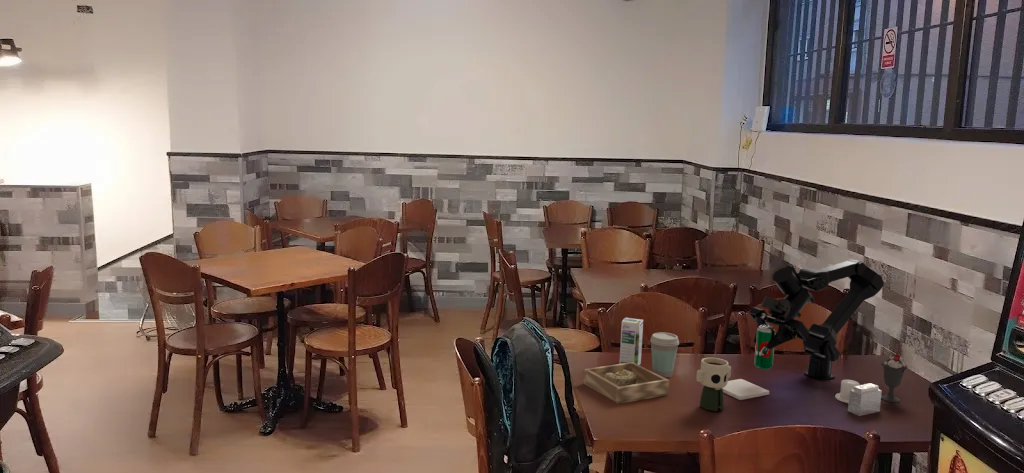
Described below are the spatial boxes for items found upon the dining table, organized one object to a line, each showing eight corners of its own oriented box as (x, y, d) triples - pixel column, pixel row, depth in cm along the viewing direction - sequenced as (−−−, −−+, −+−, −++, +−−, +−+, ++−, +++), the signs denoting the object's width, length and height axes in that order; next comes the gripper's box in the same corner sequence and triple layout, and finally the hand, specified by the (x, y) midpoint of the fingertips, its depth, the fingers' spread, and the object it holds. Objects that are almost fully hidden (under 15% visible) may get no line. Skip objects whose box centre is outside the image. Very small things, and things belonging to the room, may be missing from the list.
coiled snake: (643, 387, 216) (646, 369, 215) (623, 396, 209) (625, 378, 208) (615, 375, 223) (617, 358, 222) (594, 384, 216) (596, 366, 214)
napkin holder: (867, 407, 207) (870, 382, 206) (879, 411, 204) (882, 386, 202) (847, 411, 203) (850, 386, 202) (859, 416, 200) (862, 390, 199)
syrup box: (618, 366, 234) (621, 320, 232) (623, 361, 240) (625, 316, 237) (636, 369, 232) (639, 323, 230) (641, 363, 238) (643, 318, 235)
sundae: (893, 405, 208) (899, 352, 206) (872, 397, 214) (877, 345, 212) (909, 401, 211) (915, 349, 209) (887, 393, 217) (893, 343, 215)
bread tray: (631, 375, 226) (632, 361, 225) (668, 394, 211) (669, 380, 210) (583, 383, 218) (584, 369, 218) (617, 403, 203) (618, 388, 203)
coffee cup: (677, 380, 223) (679, 341, 221) (647, 377, 225) (650, 338, 223) (676, 371, 231) (679, 333, 230) (648, 368, 233) (650, 330, 231)
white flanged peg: (846, 393, 217) (848, 376, 216) (867, 401, 211) (869, 384, 210) (829, 397, 214) (831, 380, 213) (850, 405, 208) (852, 388, 207)
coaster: (741, 382, 223) (741, 378, 223) (769, 394, 214) (769, 391, 214) (712, 387, 218) (712, 383, 218) (739, 400, 209) (740, 396, 209)
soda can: (776, 368, 218) (779, 328, 216) (762, 370, 216) (765, 330, 214) (763, 363, 222) (766, 323, 220) (750, 365, 220) (753, 325, 218)
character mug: (703, 415, 197) (706, 367, 195) (686, 406, 203) (689, 359, 201) (736, 410, 201) (740, 363, 199) (719, 401, 208) (723, 355, 206)
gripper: (755, 280, 225) (724, 320, 222) (805, 294, 209) (773, 337, 206) (773, 303, 230) (743, 343, 227) (823, 318, 214) (791, 361, 210)
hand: (761, 345), depth 217 cm, fingers closed on soda can, 5 cm apart
